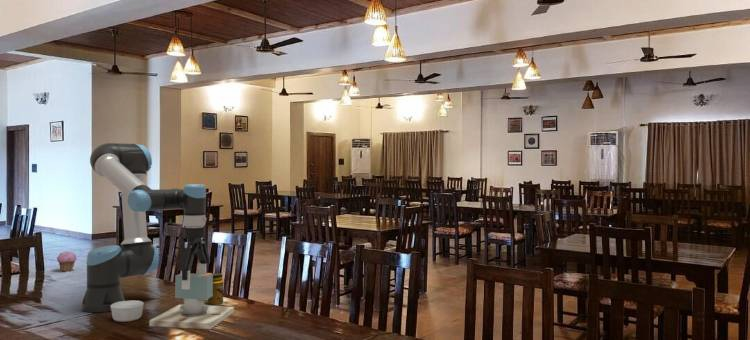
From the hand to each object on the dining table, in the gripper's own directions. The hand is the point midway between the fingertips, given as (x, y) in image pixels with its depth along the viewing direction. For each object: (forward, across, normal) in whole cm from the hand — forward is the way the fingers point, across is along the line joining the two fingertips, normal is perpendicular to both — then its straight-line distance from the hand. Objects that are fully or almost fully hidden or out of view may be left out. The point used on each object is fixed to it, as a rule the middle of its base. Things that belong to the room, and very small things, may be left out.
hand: (194, 285), depth 201 cm
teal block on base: (+10, 0, 0) cm, 10 cm away
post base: (+12, 0, 0) cm, 12 cm away
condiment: (+12, +22, +2) cm, 25 cm away
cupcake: (+12, +72, +102) cm, 126 cm away
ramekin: (+13, -3, +24) cm, 27 cm away
